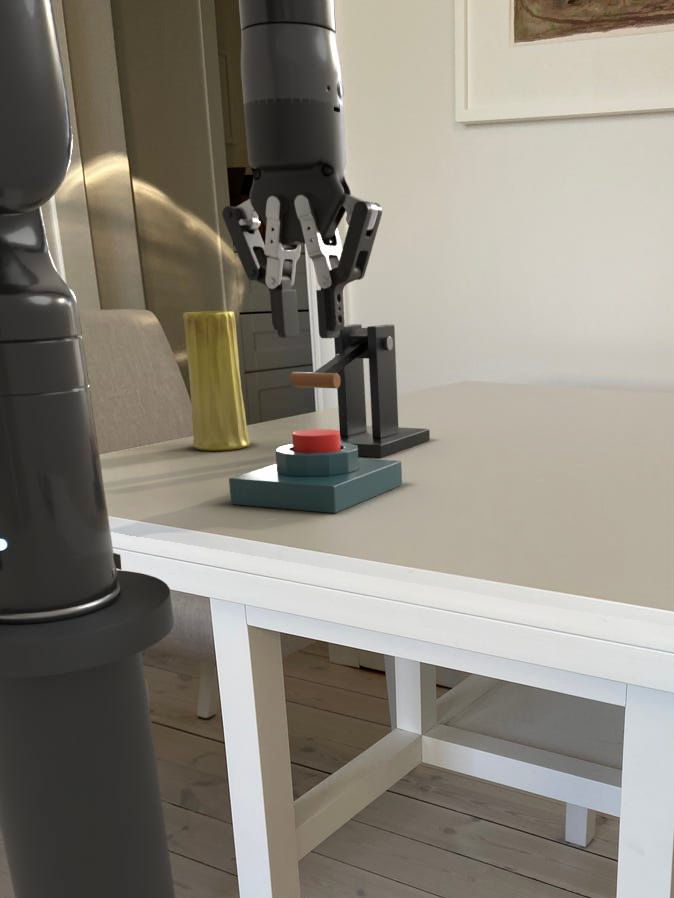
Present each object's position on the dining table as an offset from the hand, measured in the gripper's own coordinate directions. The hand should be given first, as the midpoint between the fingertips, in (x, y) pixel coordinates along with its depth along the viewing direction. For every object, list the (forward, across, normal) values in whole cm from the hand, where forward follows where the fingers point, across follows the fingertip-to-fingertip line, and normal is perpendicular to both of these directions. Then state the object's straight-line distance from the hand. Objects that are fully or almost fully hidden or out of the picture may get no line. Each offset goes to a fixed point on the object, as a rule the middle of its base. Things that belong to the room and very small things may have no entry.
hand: (309, 336), depth 82 cm
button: (+10, 0, 0) cm, 10 cm away
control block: (+13, 0, 0) cm, 13 cm away
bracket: (+13, -8, +24) cm, 28 cm away
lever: (+5, -8, +19) cm, 21 cm away
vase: (+13, -24, +18) cm, 33 cm away
